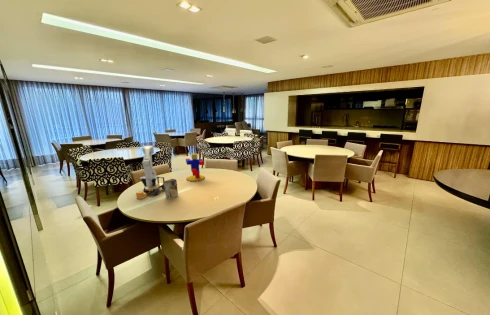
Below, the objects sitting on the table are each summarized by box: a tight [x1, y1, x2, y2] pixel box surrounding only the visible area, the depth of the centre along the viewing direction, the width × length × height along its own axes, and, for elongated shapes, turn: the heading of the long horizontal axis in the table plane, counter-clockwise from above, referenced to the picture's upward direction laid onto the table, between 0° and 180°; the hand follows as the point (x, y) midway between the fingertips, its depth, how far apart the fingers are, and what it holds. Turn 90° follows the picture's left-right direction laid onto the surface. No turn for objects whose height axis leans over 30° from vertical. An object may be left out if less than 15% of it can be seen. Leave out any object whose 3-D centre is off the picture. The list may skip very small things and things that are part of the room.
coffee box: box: [164, 178, 179, 200], centre depth 177 cm, size 9×6×16 cm
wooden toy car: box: [142, 176, 165, 196], centre depth 189 cm, size 17×14×13 cm
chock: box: [135, 191, 148, 200], centre depth 178 cm, size 5×7×6 cm
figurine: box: [185, 153, 206, 183], centre depth 224 cm, size 22×22×30 cm
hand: (149, 186), depth 179 cm, fingers open, 7 cm apart
